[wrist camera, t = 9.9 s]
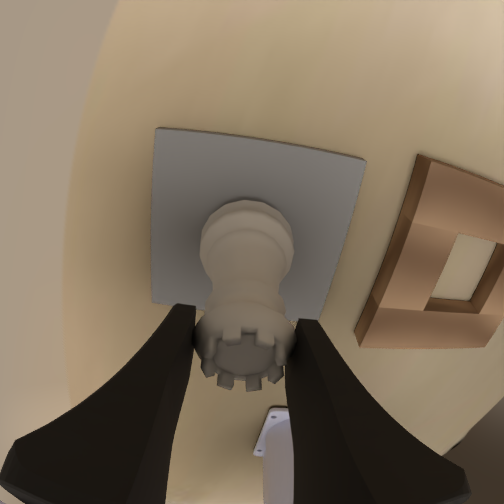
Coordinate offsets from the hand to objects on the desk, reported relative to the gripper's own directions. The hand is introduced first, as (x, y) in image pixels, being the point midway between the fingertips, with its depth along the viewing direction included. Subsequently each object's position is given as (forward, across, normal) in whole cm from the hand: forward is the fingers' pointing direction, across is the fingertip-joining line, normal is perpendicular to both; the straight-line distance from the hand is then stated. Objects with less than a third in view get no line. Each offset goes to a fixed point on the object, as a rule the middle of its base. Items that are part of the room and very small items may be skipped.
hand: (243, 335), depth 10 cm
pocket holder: (+8, -14, 0) cm, 16 cm away
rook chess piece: (+7, 0, 0) cm, 7 cm away
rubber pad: (+8, 0, 0) cm, 8 cm away
